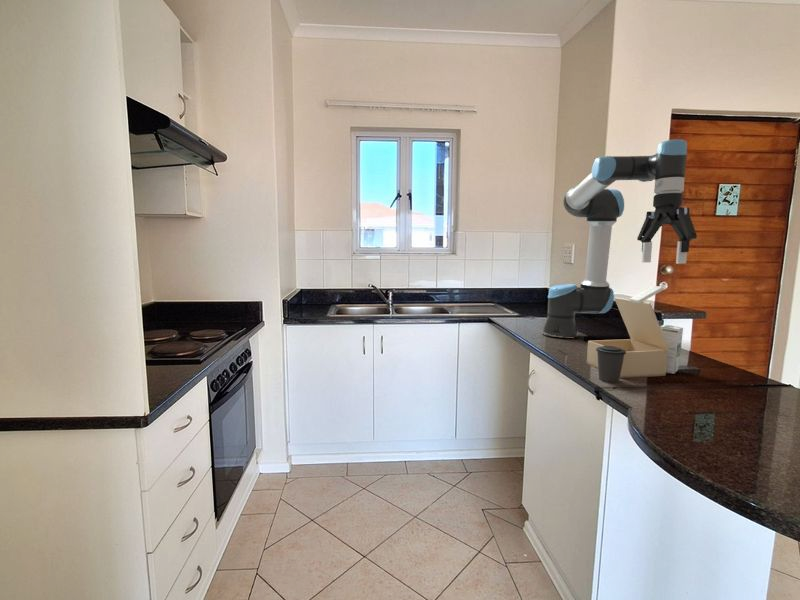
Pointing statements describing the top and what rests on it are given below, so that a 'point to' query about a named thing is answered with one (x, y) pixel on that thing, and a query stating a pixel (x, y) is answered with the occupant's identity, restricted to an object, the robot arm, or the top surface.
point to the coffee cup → (610, 363)
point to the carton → (633, 357)
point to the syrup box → (672, 346)
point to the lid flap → (642, 318)
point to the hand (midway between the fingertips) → (662, 263)
